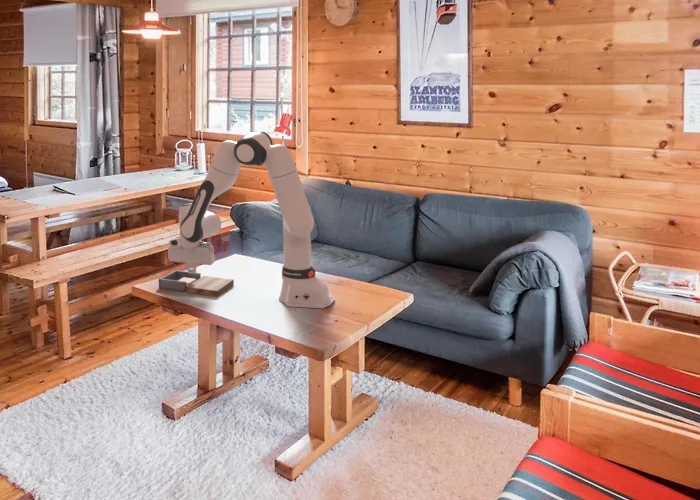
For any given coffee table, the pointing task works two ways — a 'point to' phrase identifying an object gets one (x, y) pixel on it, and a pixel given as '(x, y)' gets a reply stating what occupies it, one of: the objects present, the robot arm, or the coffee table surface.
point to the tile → (187, 280)
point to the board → (209, 286)
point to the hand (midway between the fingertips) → (192, 272)
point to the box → (176, 280)
